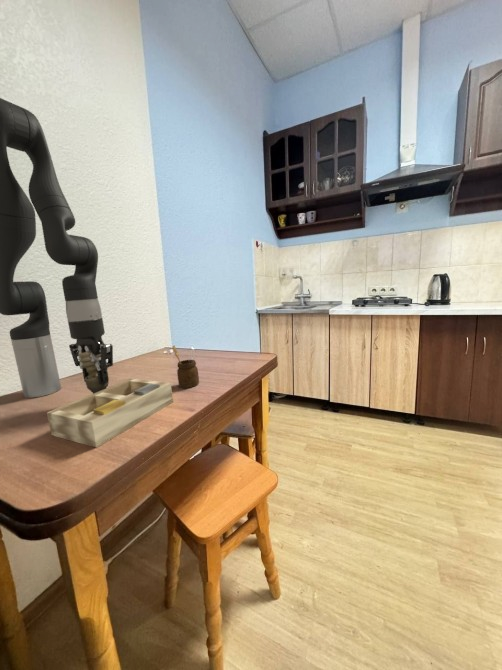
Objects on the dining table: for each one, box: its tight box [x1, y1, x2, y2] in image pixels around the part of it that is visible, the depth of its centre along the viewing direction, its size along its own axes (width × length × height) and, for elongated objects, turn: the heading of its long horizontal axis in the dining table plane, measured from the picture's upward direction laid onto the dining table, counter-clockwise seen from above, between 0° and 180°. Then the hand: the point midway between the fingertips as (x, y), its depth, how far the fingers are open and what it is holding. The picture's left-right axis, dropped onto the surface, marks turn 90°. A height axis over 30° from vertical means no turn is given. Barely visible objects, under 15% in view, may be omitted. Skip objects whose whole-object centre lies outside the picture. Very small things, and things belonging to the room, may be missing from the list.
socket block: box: [46, 378, 174, 448], centre depth 63 cm, size 14×21×6 cm, turn 155°
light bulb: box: [79, 352, 109, 394], centre depth 72 cm, size 6×6×15 cm
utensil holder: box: [172, 345, 200, 389], centre depth 81 cm, size 6×6×12 cm
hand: (96, 382), depth 73 cm, fingers closed on light bulb, 5 cm apart
